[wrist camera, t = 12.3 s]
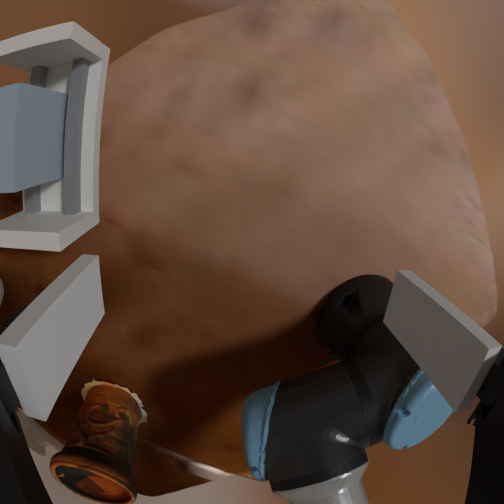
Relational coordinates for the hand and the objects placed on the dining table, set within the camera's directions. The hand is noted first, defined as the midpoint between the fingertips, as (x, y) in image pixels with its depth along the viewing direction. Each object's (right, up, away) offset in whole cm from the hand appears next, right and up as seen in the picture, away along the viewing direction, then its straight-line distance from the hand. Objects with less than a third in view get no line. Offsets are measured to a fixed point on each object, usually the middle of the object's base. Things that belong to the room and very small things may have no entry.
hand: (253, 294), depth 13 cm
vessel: (-26, -27, +38) cm, 53 cm away
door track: (-26, +17, +22) cm, 38 cm away
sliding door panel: (-25, +17, +20) cm, 36 cm away
